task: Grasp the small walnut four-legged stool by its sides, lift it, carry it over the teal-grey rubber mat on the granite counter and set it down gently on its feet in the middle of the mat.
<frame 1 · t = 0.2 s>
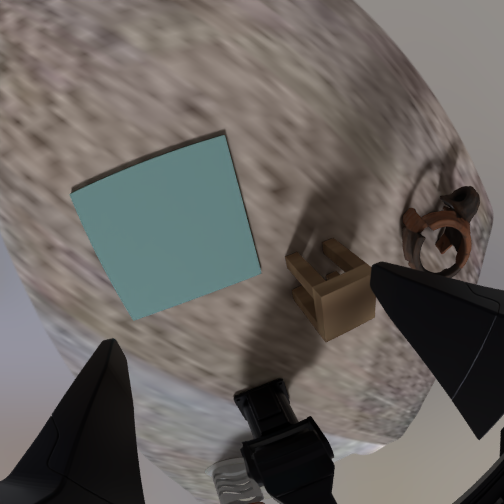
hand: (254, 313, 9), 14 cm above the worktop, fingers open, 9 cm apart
mat: (170, 235, 22), on the worktop
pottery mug: (424, 219, 30), on the worktop
stool: (313, 269, 27), on the worktop
french press: (234, 465, 43), on the worktop
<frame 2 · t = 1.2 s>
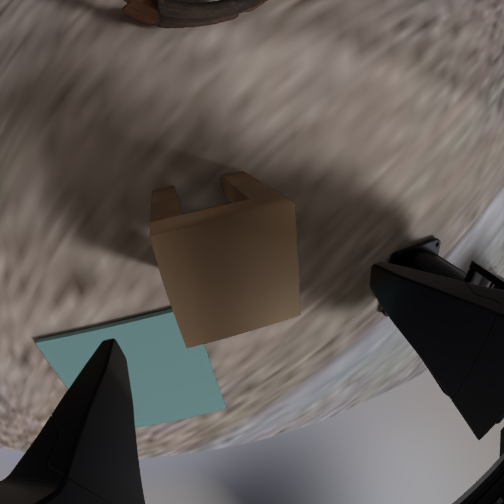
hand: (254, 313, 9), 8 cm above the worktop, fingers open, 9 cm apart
mat: (137, 381, 20), on the worktop
stool: (206, 223, 16), on the worktop
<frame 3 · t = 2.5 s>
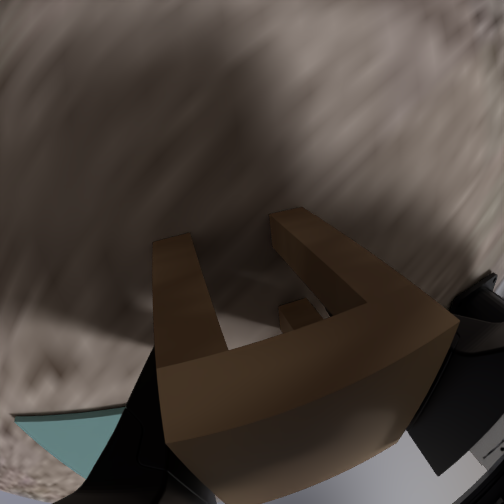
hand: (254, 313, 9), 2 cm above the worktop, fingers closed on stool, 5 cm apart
mat: (145, 458, 14), on the worktop
stool: (241, 288, 10), on the worktop, touching gripper
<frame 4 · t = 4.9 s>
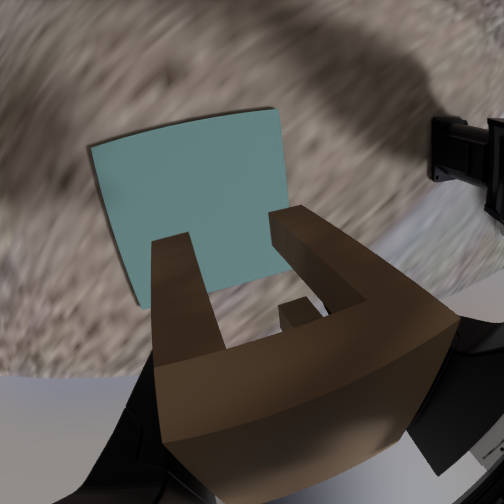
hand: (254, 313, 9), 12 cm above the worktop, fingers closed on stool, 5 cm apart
mat: (201, 212, 19), on the worktop
stool: (240, 287, 10), point 10 cm above the worktop, touching gripper
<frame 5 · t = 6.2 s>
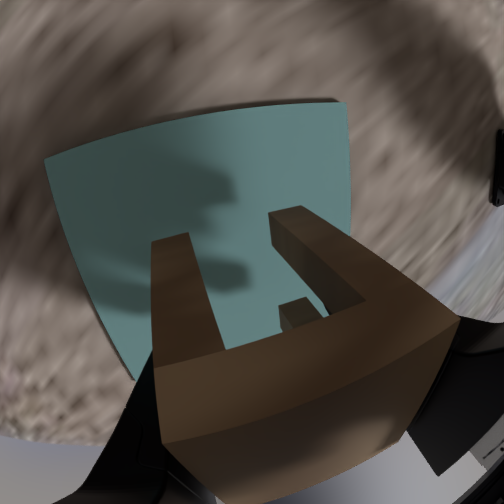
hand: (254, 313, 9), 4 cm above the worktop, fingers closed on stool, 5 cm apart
mat: (224, 260, 12), on the worktop
stool: (240, 287, 10), point 2 cm above the worktop, touching gripper
when the fingers open (3 cm above the worktop, at t = 7.2 s): stool stays where it is, resting on mat.
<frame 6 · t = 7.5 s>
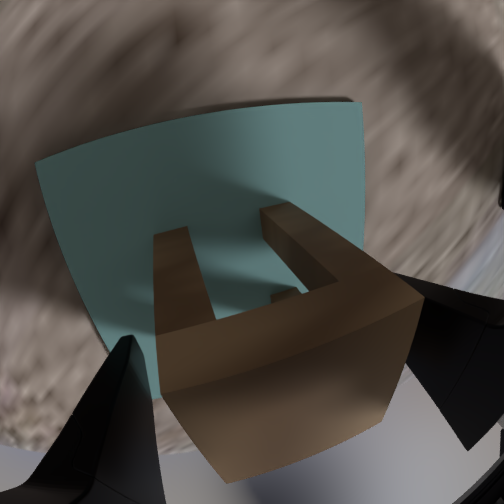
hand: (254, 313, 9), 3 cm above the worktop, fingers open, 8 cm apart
mat: (231, 270, 12), on the worktop
stool: (235, 277, 11), resting on mat
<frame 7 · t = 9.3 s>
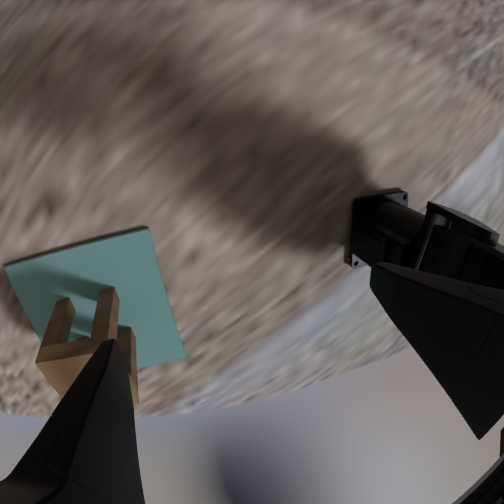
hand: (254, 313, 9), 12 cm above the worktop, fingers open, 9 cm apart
mat: (96, 316, 20), on the worktop
stool: (96, 320, 19), resting on mat
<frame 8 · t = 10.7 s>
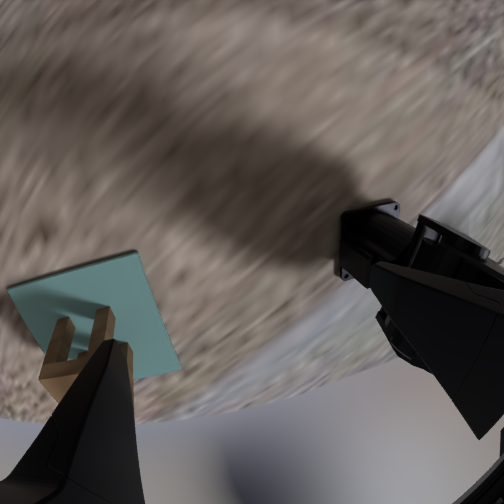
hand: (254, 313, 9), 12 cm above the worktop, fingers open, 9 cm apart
mat: (95, 333, 21), on the worktop
stool: (95, 336, 20), resting on mat
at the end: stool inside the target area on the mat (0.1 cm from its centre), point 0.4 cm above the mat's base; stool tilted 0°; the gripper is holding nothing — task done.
